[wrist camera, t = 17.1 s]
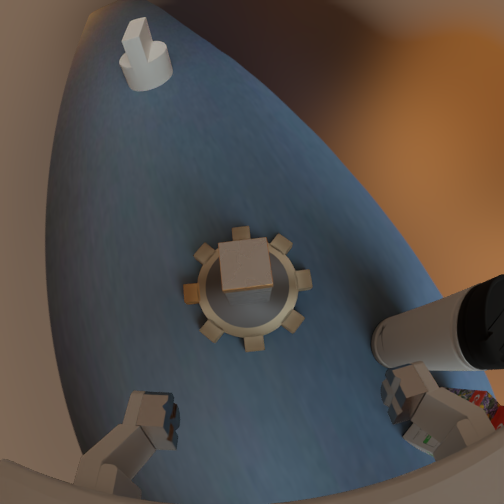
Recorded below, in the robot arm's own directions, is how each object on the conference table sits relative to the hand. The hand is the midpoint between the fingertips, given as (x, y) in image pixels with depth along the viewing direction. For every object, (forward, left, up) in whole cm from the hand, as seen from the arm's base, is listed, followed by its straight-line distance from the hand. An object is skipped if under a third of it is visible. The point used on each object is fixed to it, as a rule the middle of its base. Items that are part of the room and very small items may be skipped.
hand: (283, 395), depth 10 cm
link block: (+9, +1, -20) cm, 22 cm away
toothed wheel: (+9, +1, -22) cm, 24 cm away
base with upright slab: (+51, +15, -22) cm, 58 cm away
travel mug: (0, -15, -22) cm, 27 cm away
